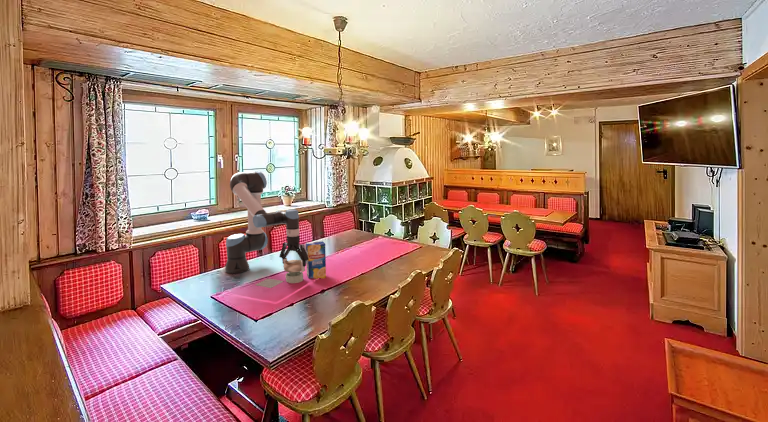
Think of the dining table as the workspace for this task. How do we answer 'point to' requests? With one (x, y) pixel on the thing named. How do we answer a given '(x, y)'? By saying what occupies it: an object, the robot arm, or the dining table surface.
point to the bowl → (294, 277)
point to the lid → (292, 266)
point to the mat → (269, 283)
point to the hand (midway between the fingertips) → (294, 270)
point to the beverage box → (316, 260)
